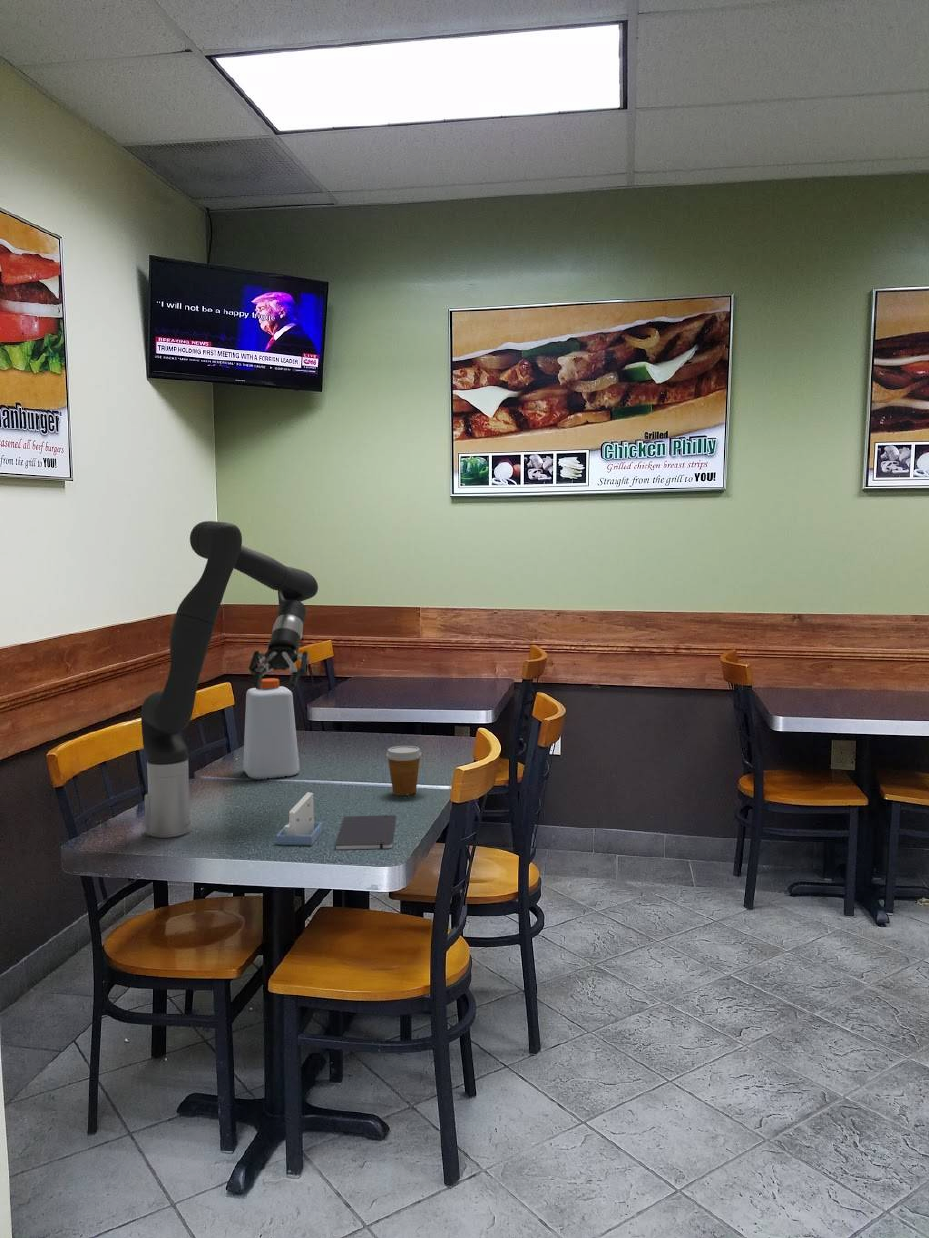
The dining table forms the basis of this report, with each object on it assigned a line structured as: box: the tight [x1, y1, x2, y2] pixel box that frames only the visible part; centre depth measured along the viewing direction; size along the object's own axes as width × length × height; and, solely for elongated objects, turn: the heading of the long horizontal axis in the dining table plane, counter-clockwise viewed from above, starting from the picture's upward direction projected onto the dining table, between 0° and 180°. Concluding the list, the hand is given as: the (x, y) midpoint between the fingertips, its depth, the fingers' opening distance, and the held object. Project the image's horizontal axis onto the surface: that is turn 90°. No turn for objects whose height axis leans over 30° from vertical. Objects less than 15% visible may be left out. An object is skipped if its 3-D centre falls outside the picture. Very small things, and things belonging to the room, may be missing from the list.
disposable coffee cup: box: [386, 745, 422, 796], centre depth 243 cm, size 10×10×12 cm
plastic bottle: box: [242, 677, 300, 780], centre depth 265 cm, size 15×15×28 cm
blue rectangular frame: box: [275, 821, 324, 846], centre depth 206 cm, size 8×10×2 cm
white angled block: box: [283, 791, 315, 836], centre depth 207 cm, size 4×10×9 cm, turn 142°
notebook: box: [334, 814, 397, 850], centre depth 209 cm, size 13×2×21 cm
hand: (274, 687), depth 219 cm, fingers open, 8 cm apart
